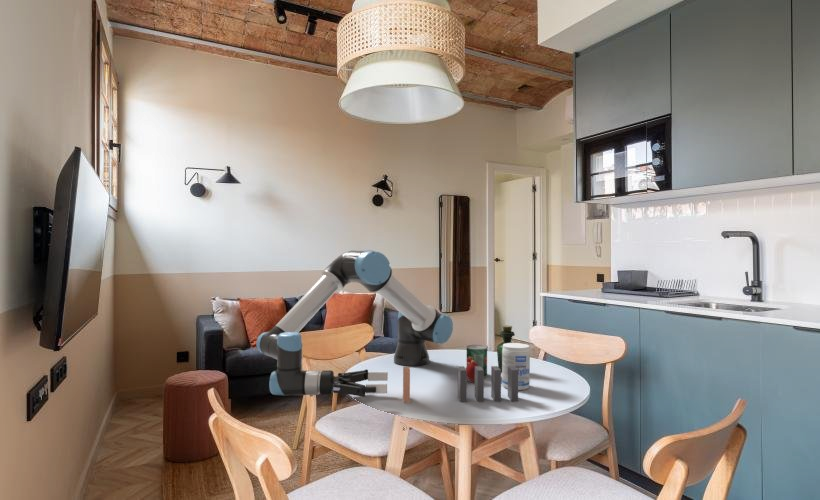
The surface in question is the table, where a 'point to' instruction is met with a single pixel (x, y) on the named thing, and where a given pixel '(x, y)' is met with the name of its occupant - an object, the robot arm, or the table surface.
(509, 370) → the domino
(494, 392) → the domino
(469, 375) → the onion
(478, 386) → the domino
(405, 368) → the orange domino
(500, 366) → the potion bottle
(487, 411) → the table surface
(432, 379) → the table surface
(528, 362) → the supplement tub
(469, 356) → the canned tomato
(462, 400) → the domino
